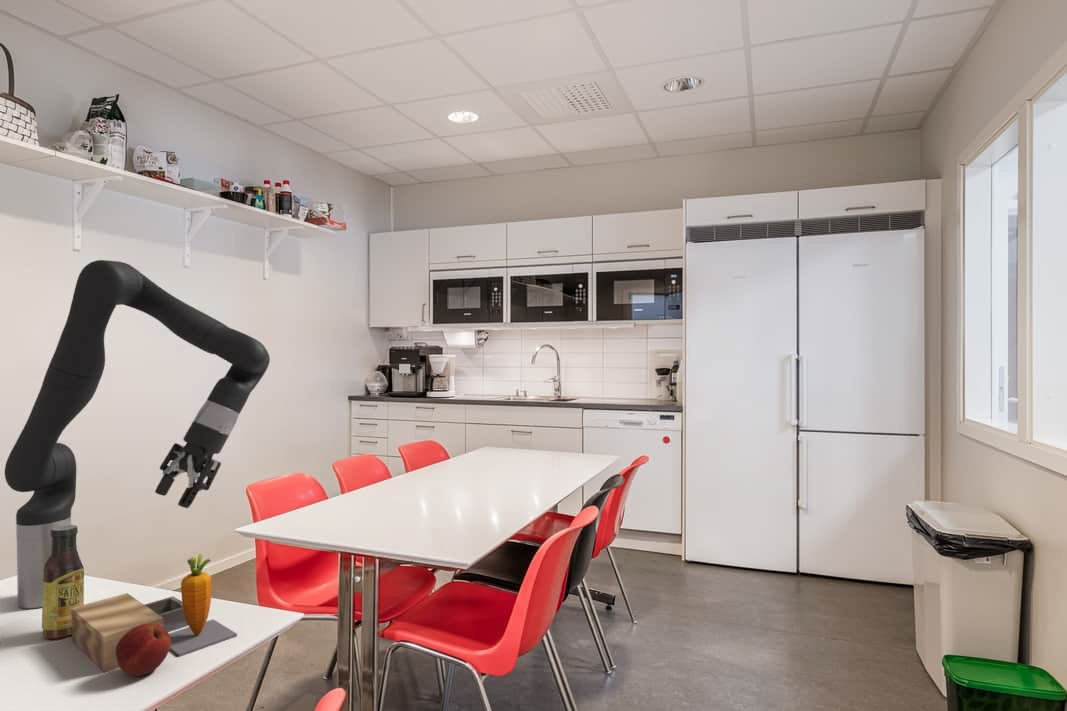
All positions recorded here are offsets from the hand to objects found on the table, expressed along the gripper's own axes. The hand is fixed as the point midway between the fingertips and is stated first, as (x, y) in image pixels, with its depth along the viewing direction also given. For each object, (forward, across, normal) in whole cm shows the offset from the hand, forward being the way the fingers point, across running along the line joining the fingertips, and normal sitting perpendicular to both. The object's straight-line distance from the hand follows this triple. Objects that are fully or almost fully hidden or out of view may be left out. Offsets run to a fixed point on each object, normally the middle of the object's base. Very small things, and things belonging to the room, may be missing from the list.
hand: (171, 500), depth 126 cm
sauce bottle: (+29, -5, -3) cm, 29 cm away
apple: (+24, +23, -5) cm, 34 cm away
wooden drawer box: (+23, +10, +1) cm, 25 cm away
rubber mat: (+19, +19, +6) cm, 28 cm away
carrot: (+19, +19, +6) cm, 27 cm away
